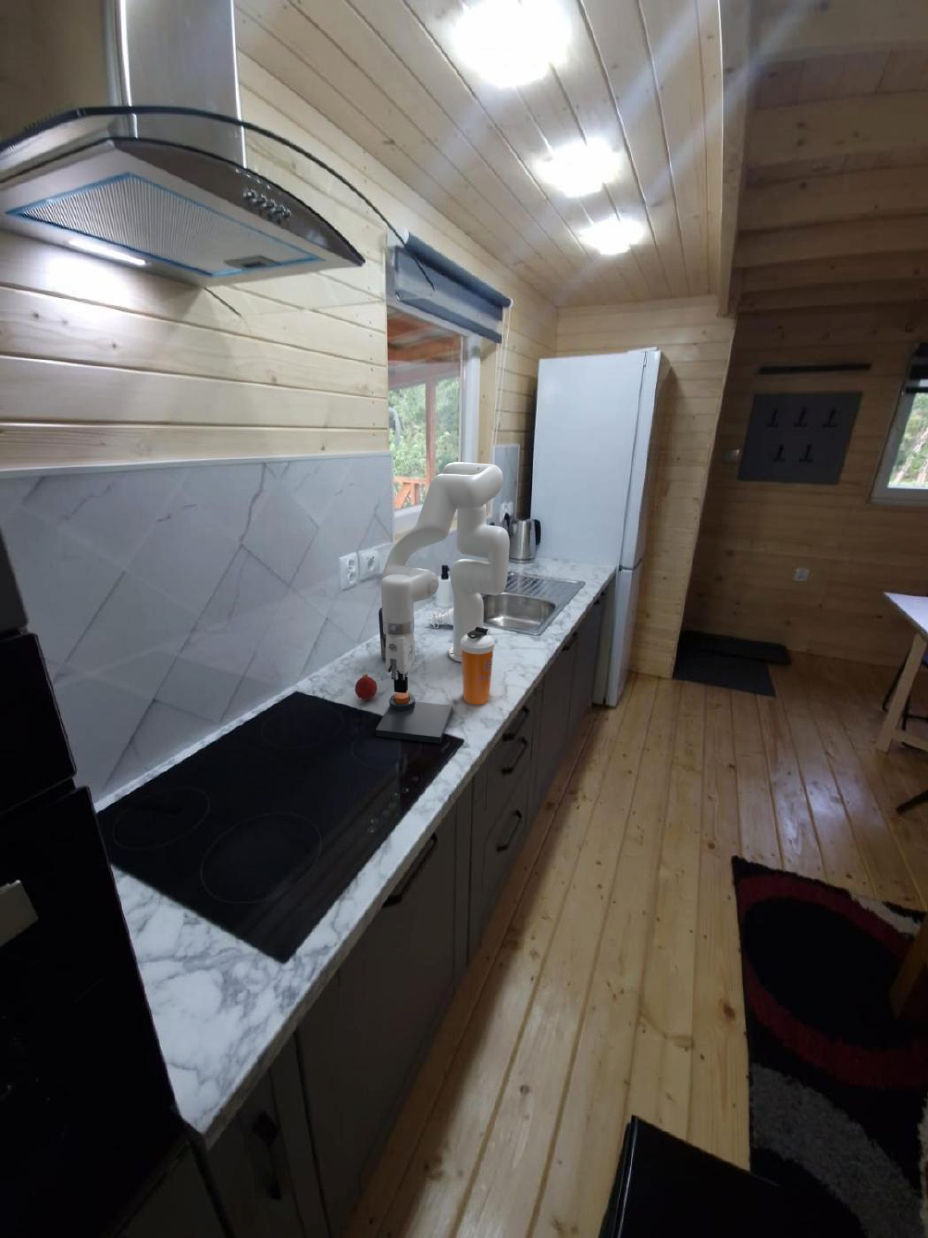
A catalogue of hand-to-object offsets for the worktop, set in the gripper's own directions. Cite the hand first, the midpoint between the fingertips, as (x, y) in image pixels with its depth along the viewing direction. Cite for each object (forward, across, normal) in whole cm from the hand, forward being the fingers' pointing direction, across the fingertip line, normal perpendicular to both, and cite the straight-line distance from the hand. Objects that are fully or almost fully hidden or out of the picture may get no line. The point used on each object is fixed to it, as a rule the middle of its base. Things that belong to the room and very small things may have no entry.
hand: (401, 691), depth 127 cm
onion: (+6, +3, +11) cm, 13 cm away
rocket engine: (+6, +60, -2) cm, 60 cm away
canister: (+6, +29, +11) cm, 32 cm away
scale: (+6, -5, -5) cm, 9 cm away
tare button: (+3, 0, 0) cm, 3 cm away
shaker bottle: (+6, +10, -18) cm, 22 cm away
